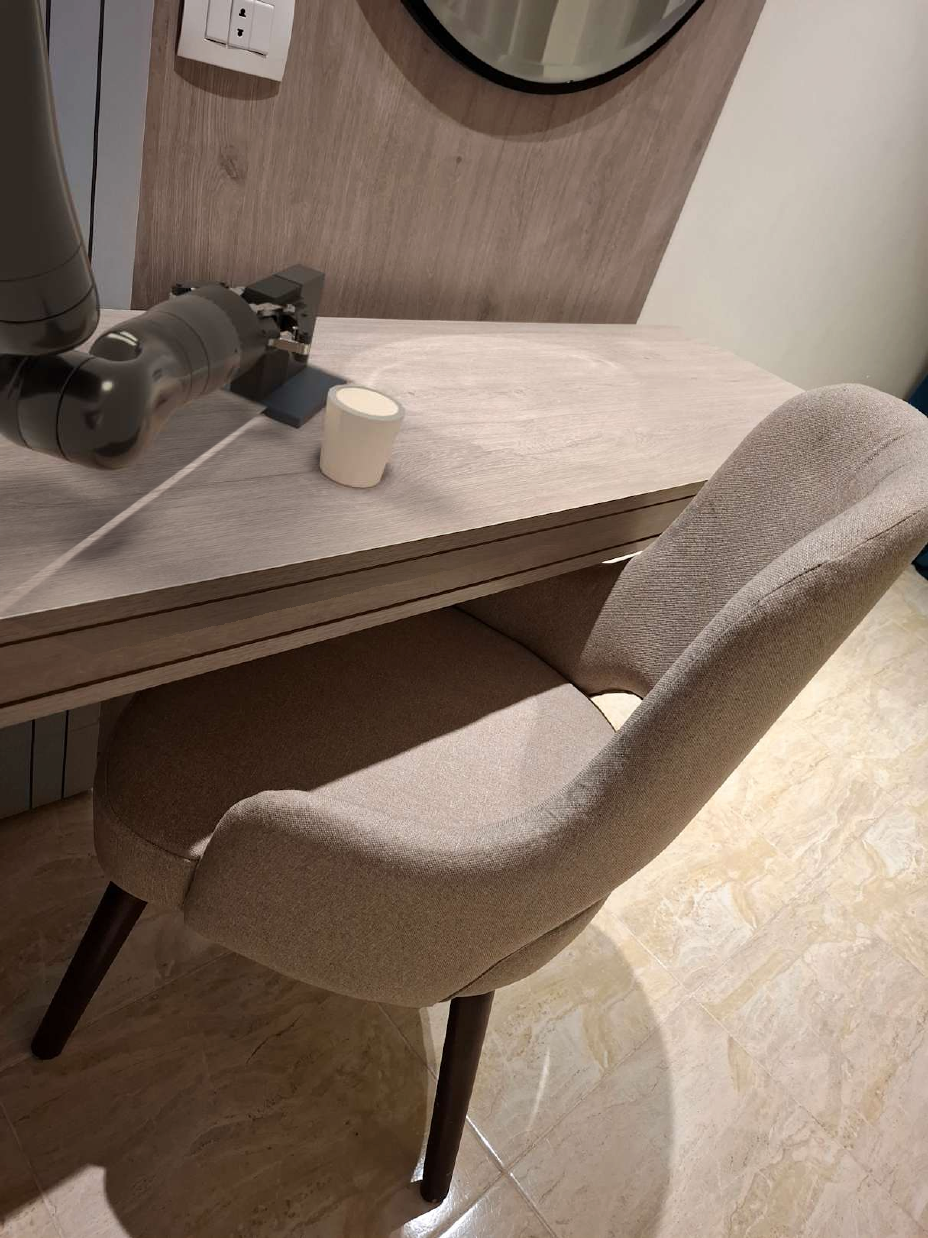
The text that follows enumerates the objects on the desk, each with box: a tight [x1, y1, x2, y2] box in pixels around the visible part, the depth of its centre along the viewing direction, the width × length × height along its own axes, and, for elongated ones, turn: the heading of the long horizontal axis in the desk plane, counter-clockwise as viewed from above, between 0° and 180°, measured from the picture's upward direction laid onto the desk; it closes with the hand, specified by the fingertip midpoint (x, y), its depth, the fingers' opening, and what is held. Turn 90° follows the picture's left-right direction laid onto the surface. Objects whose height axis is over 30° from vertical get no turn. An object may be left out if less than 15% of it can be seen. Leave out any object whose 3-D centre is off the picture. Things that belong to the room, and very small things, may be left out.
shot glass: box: [319, 383, 406, 489], centre depth 80 cm, size 7×7×7 cm
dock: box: [219, 262, 348, 428], centre depth 89 cm, size 12×13×11 cm
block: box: [230, 274, 302, 401], centre depth 86 cm, size 3×6×10 cm, turn 165°
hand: (282, 301), depth 86 cm, fingers closed on block, 3 cm apart
